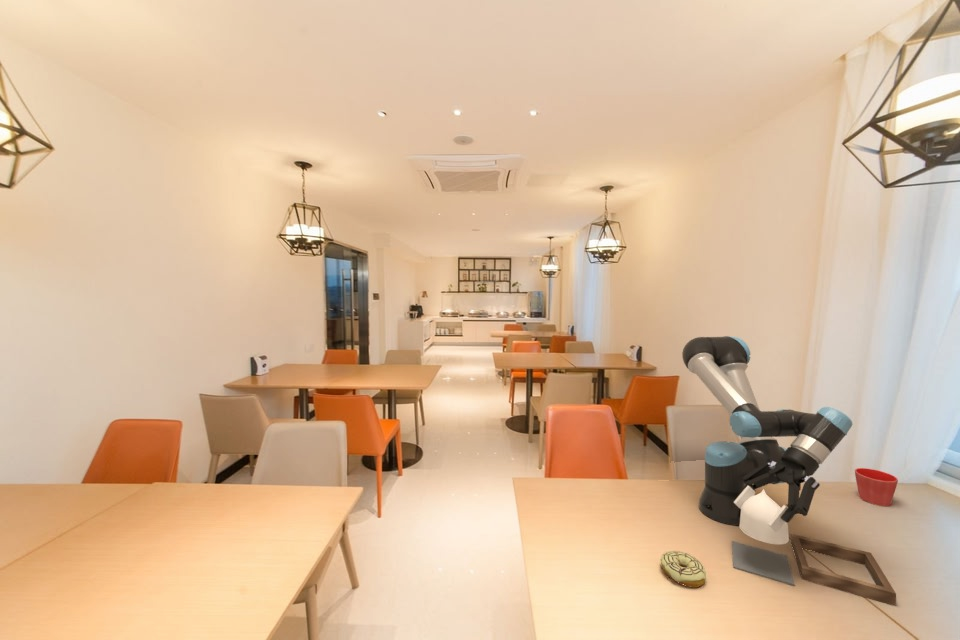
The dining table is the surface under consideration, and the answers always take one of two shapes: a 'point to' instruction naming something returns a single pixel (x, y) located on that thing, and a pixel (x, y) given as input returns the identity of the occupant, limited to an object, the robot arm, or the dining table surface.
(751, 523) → the teardrop
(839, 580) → the walnut collar
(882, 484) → the flower pot
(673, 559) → the decorated donut
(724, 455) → the robot arm
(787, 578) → the grey mat
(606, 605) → the dining table surface
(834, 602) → the dining table surface
